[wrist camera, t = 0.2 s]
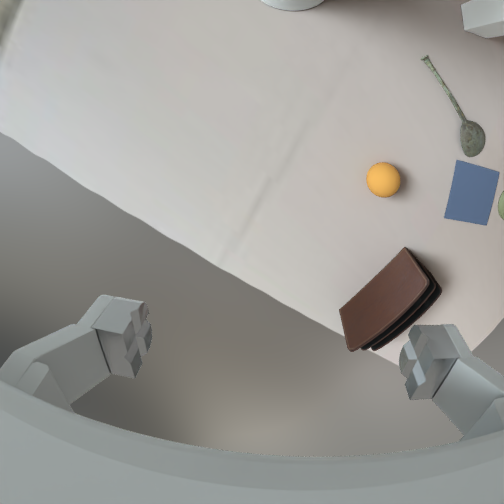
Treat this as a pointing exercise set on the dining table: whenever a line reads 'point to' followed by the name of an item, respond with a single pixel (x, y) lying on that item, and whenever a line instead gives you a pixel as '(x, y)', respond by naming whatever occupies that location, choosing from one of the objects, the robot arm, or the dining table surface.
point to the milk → (484, 17)
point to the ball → (383, 179)
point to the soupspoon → (464, 123)
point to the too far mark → (501, 206)
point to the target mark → (471, 193)
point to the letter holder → (389, 303)
